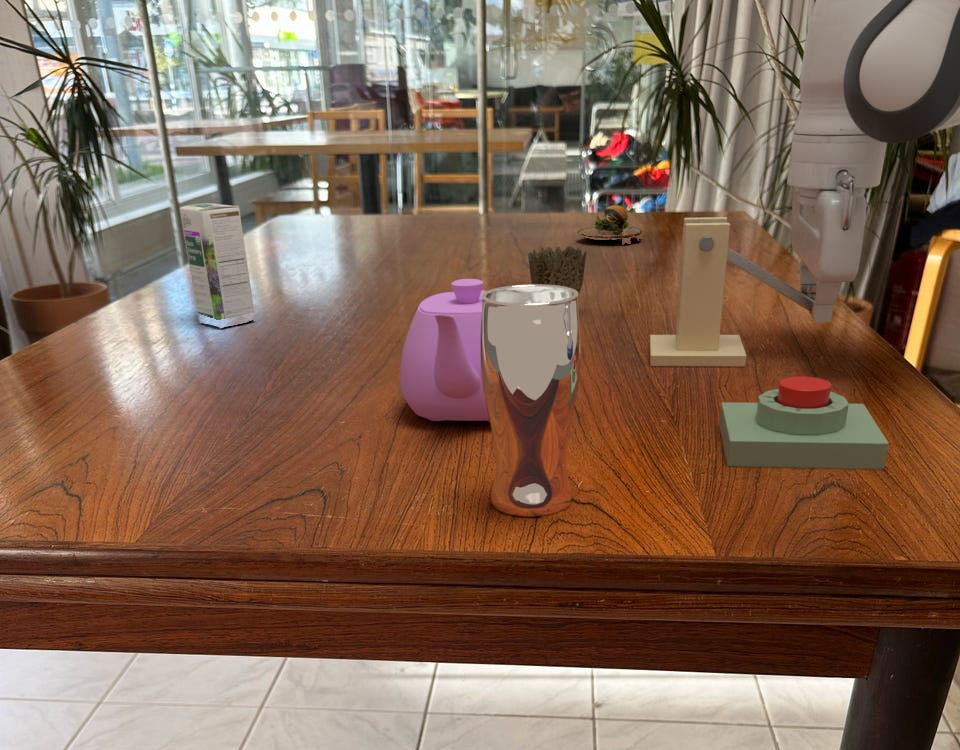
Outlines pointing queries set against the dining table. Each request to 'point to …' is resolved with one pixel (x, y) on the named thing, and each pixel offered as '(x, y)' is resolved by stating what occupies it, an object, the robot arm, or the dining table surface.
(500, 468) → the beer glass
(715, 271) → the bracket
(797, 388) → the button
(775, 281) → the lever
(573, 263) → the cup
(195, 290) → the syrup box
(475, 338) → the teapot
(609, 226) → the moss table decoration
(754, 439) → the button box
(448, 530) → the dining table surface
